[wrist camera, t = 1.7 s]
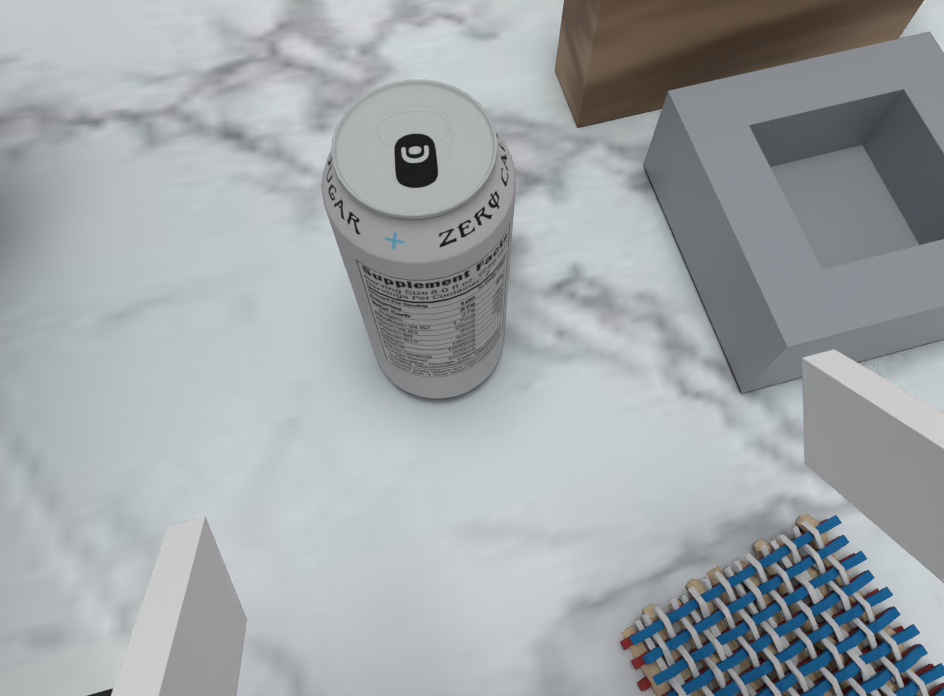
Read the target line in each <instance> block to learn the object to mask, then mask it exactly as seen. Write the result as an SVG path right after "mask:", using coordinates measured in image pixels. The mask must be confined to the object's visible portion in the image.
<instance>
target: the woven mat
mask: <svg viewBox="0 0 944 696" xmlns="http://www.w3.org/2000/svg"><path fill="white" fill-rule="evenodd" d="M796 524H797V525H798V526H799V527H800V528H801V529H802V530H804V532H802V533H800V531H799V528H798V527H797V526H795V527H794V528H793V533H794V536H795V538H794V539H792V540H789V539H788V538H787V537H786V536H785V535H784V534H783V535H780V536H779V538H780V539H779V540H777V541H775V539H774V540H772V541H771V542H770V543H771V544H772V546H773V547H774V549H775V550H773V551H772V546H771V545H770V544H768V543H766V542H764V541H763V540H760V541H758V542H757V543H755V544H754V547H755V553H756V558H757V559H758V560H756V559H755V558H754V557H753V556H752V555H751V554H750V553H748V554H747V555H746V556H745V558H746V559H747V560H748V561H749V562H750V563H751V564H749V565H748V564H746V563H745V562H743V561H740V562H739V560H735V561H734V562H733V563H732V564H733V566H734V568H735V570H736V573H733V572H732V570H731V569H730V567H727V568H725V569H723V570H724V572H725V573H726V575H727V578H726V576H725V575H724V573H723V572H722V570H721V569H720V567H719V566H717V567H716V568H714V569H712V570H711V571H709V572H707V575H708V576H709V578H710V579H711V581H712V582H713V584H714V586H711V583H710V580H709V579H707V578H705V579H704V580H703V581H702V582H703V583H702V582H701V581H700V580H696V579H691V580H690V582H689V583H688V584H687V586H686V587H687V588H688V591H689V592H690V593H691V594H692V595H693V598H690V599H689V600H688V598H687V597H686V595H685V594H684V595H682V596H681V597H680V599H681V601H682V602H683V604H682V603H681V601H680V600H679V599H678V600H677V599H676V598H674V599H671V600H670V602H671V604H670V605H668V606H669V608H670V609H671V611H670V612H669V613H667V614H665V613H664V612H663V611H662V610H661V608H660V607H659V606H658V607H654V606H653V605H651V604H650V605H649V606H647V607H646V608H644V609H643V611H644V614H643V615H642V619H643V621H644V623H645V625H646V626H645V627H644V626H643V624H642V622H641V621H640V619H638V620H637V621H635V623H636V625H637V627H638V629H639V631H637V632H636V630H635V629H634V627H633V625H632V626H631V627H629V628H627V629H626V630H624V631H623V632H621V633H622V635H623V637H624V640H622V641H621V642H620V643H621V645H622V646H623V648H624V650H625V649H627V648H628V647H629V649H630V651H631V653H632V655H633V657H634V658H635V659H633V660H632V661H631V662H632V664H633V666H634V668H635V669H638V668H640V667H641V669H642V670H643V672H644V673H645V675H646V676H645V677H644V678H643V679H642V680H640V681H639V682H638V683H637V684H638V685H639V687H640V689H641V691H644V690H647V689H648V688H649V687H650V686H652V688H653V691H654V693H655V695H656V696H739V695H738V694H737V692H738V691H741V693H742V695H743V696H782V695H781V693H782V694H783V696H867V695H866V694H868V693H871V695H872V696H944V683H941V684H939V685H938V686H936V687H935V688H933V689H932V690H930V691H929V689H928V688H927V687H926V684H928V683H930V682H932V681H934V680H936V679H938V678H940V677H942V676H944V666H943V665H942V663H941V664H938V665H936V666H935V667H934V666H933V664H928V665H926V666H925V667H923V668H921V669H920V670H918V671H915V669H914V668H913V667H912V666H913V665H914V664H915V663H916V662H917V661H918V660H919V659H920V658H921V657H922V656H924V655H926V654H928V653H927V651H926V650H925V648H924V647H923V646H922V645H921V644H916V645H913V646H912V647H910V648H909V649H907V650H905V651H904V647H903V642H905V641H907V640H909V639H911V638H913V637H915V636H916V635H918V634H919V633H920V632H919V631H918V629H917V628H916V627H915V625H914V624H913V625H911V626H909V627H907V628H906V629H904V628H903V627H902V626H899V627H897V628H895V629H891V628H890V627H889V626H888V624H890V623H891V622H892V621H893V620H894V619H896V618H897V617H898V616H900V613H899V612H898V610H897V609H896V608H895V607H894V606H893V607H890V608H887V609H886V610H884V611H883V612H881V613H879V614H878V615H876V614H875V612H874V611H873V609H872V608H871V607H872V606H874V605H876V604H878V603H880V602H882V601H884V600H886V599H887V598H889V597H891V596H892V595H893V594H892V593H891V591H890V590H889V589H888V587H885V588H883V589H882V590H880V591H879V590H878V588H877V589H875V590H874V591H872V592H870V593H869V594H867V595H866V596H863V595H862V594H861V592H860V591H859V589H860V588H862V587H863V586H864V585H866V584H867V583H868V582H870V581H871V580H872V579H874V576H873V575H872V574H871V572H870V571H868V570H867V571H864V572H862V573H861V574H859V575H857V576H856V577H854V578H852V579H851V578H850V576H849V575H848V573H847V572H846V570H848V569H850V568H852V567H854V566H855V565H857V564H859V563H861V562H863V561H864V560H866V559H867V558H866V556H865V555H864V554H863V552H862V551H860V552H858V553H856V554H855V553H853V554H851V555H849V556H848V557H846V558H844V559H842V560H840V561H838V559H837V558H836V556H835V555H834V552H836V551H837V550H839V549H840V548H842V547H843V546H845V545H846V544H848V543H849V541H848V540H847V538H846V537H845V536H844V535H842V536H839V537H837V538H835V539H834V540H832V541H830V542H829V541H828V537H827V533H826V531H828V530H830V529H832V528H833V527H835V526H837V525H839V524H841V521H840V520H839V518H838V517H837V516H836V515H835V516H833V517H831V518H830V519H826V520H824V521H822V522H820V523H818V521H817V520H815V519H814V518H813V517H811V516H810V515H809V514H805V515H800V517H799V519H798V521H797V522H796ZM809 542H810V544H811V547H810V546H809V545H808V544H807V543H809ZM800 547H802V548H803V549H804V550H805V551H806V552H807V553H808V554H809V555H807V556H805V557H804V558H803V557H802V555H801V554H800V553H799V551H798V550H797V549H798V548H800ZM779 560H782V561H783V563H784V564H785V566H786V568H785V569H784V570H783V569H782V568H781V567H780V565H779V564H778V562H777V561H779ZM815 563H816V565H817V568H818V570H817V569H816V568H815V567H813V566H812V565H813V564H815ZM823 564H824V565H825V567H826V569H825V567H824V565H823ZM763 569H765V571H766V572H767V574H768V575H769V578H767V577H766V575H765V572H764V570H763ZM757 573H758V574H757ZM792 577H794V578H795V579H796V580H797V581H798V582H799V583H800V584H799V585H798V586H796V587H795V588H794V586H793V585H792V583H791V582H790V580H789V579H790V578H792ZM832 580H835V581H836V583H837V584H838V586H839V587H838V586H837V585H836V584H835V583H834V582H833V581H832ZM741 582H743V583H744V584H745V585H746V586H747V587H748V588H749V589H748V590H747V591H746V592H745V590H744V589H743V587H742V586H741V584H740V583H741ZM733 587H734V588H735V589H736V591H737V592H738V594H739V595H740V596H738V595H737V594H736V592H735V591H734V589H733ZM829 587H831V588H832V589H833V591H831V592H830V590H829ZM776 588H777V589H778V591H779V592H780V594H781V595H782V596H780V595H779V594H778V593H777V592H776V591H775V590H774V589H776ZM808 594H809V596H810V598H811V600H812V602H813V603H811V604H810V605H808V606H807V605H806V604H805V603H804V602H803V600H802V599H803V598H804V597H806V596H807V595H808ZM720 595H721V597H722V598H723V600H724V602H725V603H726V604H724V603H723V602H722V601H721V600H720V599H719V598H718V596H720ZM773 598H774V600H773ZM755 599H756V604H757V606H758V608H759V610H757V609H756V607H755V606H754V604H753V603H752V601H754V600H755ZM839 600H841V602H842V604H843V607H844V609H843V610H841V611H839V609H838V608H837V606H836V605H835V604H836V603H837V602H838V601H839ZM850 603H851V605H850ZM717 606H718V608H717ZM746 606H747V608H748V610H749V611H750V613H751V614H749V613H748V611H747V609H746V608H745V607H746ZM787 606H789V607H790V609H791V610H792V612H793V613H794V614H793V615H792V616H791V614H790V611H789V609H788V607H787ZM697 607H699V609H700V612H701V614H702V616H703V618H702V619H701V618H700V616H699V615H698V613H697V612H696V610H695V609H696V608H697ZM780 610H782V611H783V614H784V617H785V619H784V618H783V616H782V615H781V613H780V612H779V611H780ZM689 613H690V614H691V616H692V617H693V619H694V620H695V623H694V622H693V621H692V619H691V618H690V616H689ZM731 614H733V616H734V617H735V619H736V620H737V623H736V624H734V621H733V619H732V616H731ZM818 614H821V615H822V616H823V617H824V618H825V619H826V620H825V621H823V622H822V623H820V624H818V623H817V621H816V620H815V618H814V616H816V615H818ZM859 616H860V618H861V619H862V621H863V622H864V623H863V622H862V621H861V620H860V619H859V618H858V617H859ZM723 618H726V620H727V623H728V626H729V628H728V627H727V625H726V624H725V622H724V620H723ZM765 620H766V621H767V622H766V621H765ZM851 620H852V621H853V622H854V623H855V624H856V625H857V626H858V627H856V628H854V629H853V630H852V628H851V627H850V625H849V624H848V622H849V621H851ZM675 621H677V622H678V623H679V625H680V627H681V629H682V631H680V632H678V633H677V634H676V633H675V631H674V629H673V627H672V625H671V623H673V622H675ZM758 624H759V625H760V626H761V627H762V628H763V629H764V630H765V632H764V633H761V631H760V630H759V628H758V627H757V625H758ZM800 626H802V627H803V629H804V630H805V632H806V633H803V632H802V630H801V629H800V628H799V627H800ZM708 628H710V630H711V631H712V633H713V634H714V635H713V634H712V633H711V631H710V630H709V629H708ZM792 631H793V632H794V633H795V634H796V635H797V636H798V638H796V636H795V635H794V633H793V632H792ZM833 631H834V632H835V634H836V637H837V638H834V639H833V638H832V637H831V636H830V634H831V633H832V632H833ZM700 632H703V633H704V634H705V635H706V637H707V638H708V639H709V640H708V641H706V642H705V640H704V639H703V637H702V635H701V634H700ZM743 634H745V635H746V636H747V638H748V639H749V642H746V641H745V639H744V638H743V637H742V636H741V635H743ZM651 636H653V638H654V639H655V640H656V642H657V643H658V645H657V646H655V645H654V643H653V641H652V640H651V638H650V637H651ZM874 636H875V637H876V639H875V637H874ZM866 637H867V639H868V642H869V646H868V647H866V648H865V647H864V646H863V644H862V643H861V641H862V640H863V639H865V638H866ZM735 638H736V639H737V640H738V642H739V643H740V644H741V645H742V646H741V647H740V646H739V645H738V643H737V641H736V640H735ZM643 640H645V642H646V643H647V645H648V647H649V649H650V650H647V648H646V647H645V645H644V644H643V642H642V641H643ZM687 640H688V641H689V643H690V645H691V647H692V648H693V650H691V651H689V652H687V650H686V649H685V648H684V646H683V645H682V644H683V643H684V642H686V641H687ZM772 642H774V644H775V646H776V647H775V646H774V645H773V644H772ZM813 643H814V644H815V645H816V646H817V647H818V648H819V649H817V650H816V651H815V649H814V647H813ZM806 647H807V650H808V653H809V655H810V656H808V655H807V653H806V652H805V650H804V649H805V648H806ZM715 651H716V652H717V654H718V656H719V657H718V656H717V655H716V653H715ZM724 652H725V653H726V655H725V653H724ZM844 652H846V653H847V654H848V655H849V656H850V657H851V658H850V659H848V660H847V661H845V660H844V657H843V654H842V653H844ZM756 653H758V654H759V655H760V656H761V658H759V659H758V658H757V655H756ZM663 655H664V656H665V658H666V661H667V663H668V664H667V665H666V664H665V662H664V660H663V659H662V657H661V656H663ZM885 655H886V656H887V658H888V659H889V660H890V661H889V660H888V659H887V658H886V657H885ZM747 657H750V659H751V662H752V665H751V664H750V662H749V661H748V659H747ZM877 659H878V660H879V661H880V662H881V663H882V664H883V665H882V666H880V667H879V668H878V667H877V665H876V664H875V662H874V661H875V660H877ZM697 661H700V662H701V663H702V665H703V666H704V667H703V668H701V669H700V670H699V671H698V669H697V667H696V665H695V662H697ZM784 662H785V663H784ZM785 664H786V665H787V666H788V668H789V670H787V668H786V665H785ZM826 665H827V666H828V667H829V669H830V670H831V671H830V672H829V671H828V670H827V669H826V668H825V667H824V666H826ZM732 667H733V668H734V670H733V668H732ZM818 670H819V671H820V672H821V673H822V674H823V675H824V676H821V675H820V673H819V672H818ZM727 671H728V673H729V674H730V676H731V677H732V678H731V679H729V676H728V673H727ZM859 671H860V672H861V675H862V678H861V679H859V680H858V681H856V680H855V678H854V676H855V675H856V674H857V673H858V672H859ZM768 673H769V674H770V676H771V677H772V679H773V680H770V679H769V678H768V677H767V676H766V674H768ZM892 676H894V679H895V683H894V682H893V681H892V680H891V679H890V678H891V677H892ZM674 677H675V678H674ZM901 677H902V679H901ZM760 678H761V679H762V680H763V681H764V682H765V683H766V684H765V685H763V683H762V682H761V680H760ZM711 680H712V683H713V685H714V687H715V689H714V690H712V691H710V689H709V688H708V687H707V684H708V683H709V682H710V681H711ZM797 681H798V682H799V684H800V686H801V688H802V689H801V690H798V689H797V687H796V686H795V683H796V682H797ZM668 682H669V683H670V684H671V686H672V687H673V688H672V689H671V688H670V685H669V683H668ZM838 683H840V685H841V686H842V688H843V689H840V686H839V684H838ZM832 687H833V688H832ZM748 692H749V693H750V694H749V693H748Z"/></svg>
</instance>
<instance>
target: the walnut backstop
mask: <svg viewBox="0 0 944 696" xmlns="http://www.w3.org/2000/svg"><path fill="white" fill-rule="evenodd" d="M923 1H924V0H564V5H563V13H562V20H561V28H560V36H559V44H558V52H557V59H556V67H555V72H556V75H557V77H558V80H559V83H560V85H561V88H562V90H563V93H564V95H565V98H566V100H567V103H568V105H569V108H570V110H571V113H572V115H573V118H574V120H575V123H576V125H577V128H578V127H583V126H587V125H591V124H596V123H600V122H604V121H609V120H613V119H618V118H622V117H626V116H631V115H635V114H640V113H644V112H648V111H653V110H657V109H661V108H663V105H664V102H665V99H666V96H667V93H668V91H669V90H674V89H678V88H683V87H687V86H691V85H696V84H700V83H705V82H709V81H714V80H718V79H722V78H727V77H731V76H736V75H740V74H745V73H749V72H753V71H758V70H762V69H767V68H771V67H776V66H780V65H784V64H789V63H793V62H798V61H802V60H807V59H811V58H815V57H820V56H824V55H829V54H833V53H838V52H842V51H846V50H851V49H855V48H860V47H864V46H869V45H873V44H877V43H882V42H886V41H891V40H895V39H898V38H899V37H900V35H901V34H902V32H903V31H904V29H905V28H906V26H907V25H908V23H909V22H910V20H911V19H912V17H913V16H914V14H915V13H916V11H917V10H918V8H919V7H920V5H921V4H922V2H923Z"/></svg>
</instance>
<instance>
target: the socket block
mask: <svg viewBox="0 0 944 696" xmlns="http://www.w3.org/2000/svg"><path fill="white" fill-rule="evenodd" d="M644 167H645V169H646V171H647V174H648V176H649V178H650V180H651V183H652V185H653V187H654V190H655V192H656V194H657V197H658V199H659V201H660V204H661V206H662V208H663V211H664V213H665V215H666V218H667V220H668V222H669V225H670V227H671V229H672V232H673V234H674V236H675V239H676V241H677V243H678V246H679V248H680V250H681V253H682V255H683V257H684V259H685V262H686V264H687V266H688V269H689V271H690V273H691V276H692V278H693V280H694V283H695V285H696V287H697V290H698V292H699V294H700V297H701V299H702V301H703V304H704V306H705V308H706V311H707V313H708V315H709V318H710V320H711V322H712V325H713V327H714V329H715V332H716V334H717V336H718V339H719V341H720V343H721V345H722V348H723V350H724V352H725V355H726V357H727V359H728V362H729V364H730V366H731V369H732V371H733V373H734V376H735V378H736V380H737V383H738V385H739V387H740V390H741V392H742V393H745V392H749V391H752V390H756V389H760V388H763V387H767V386H771V385H775V384H778V383H782V382H786V381H790V380H793V379H797V378H801V377H803V375H802V358H803V357H807V356H811V355H815V354H818V353H822V352H826V351H830V350H834V349H835V350H836V351H838V352H840V353H841V354H843V355H845V356H847V357H848V358H850V359H852V360H853V361H855V362H861V361H864V360H868V359H872V358H876V357H879V356H883V355H887V354H891V353H894V352H898V351H902V350H905V349H909V348H913V347H917V346H920V345H924V344H928V343H932V342H935V341H939V340H943V339H944V53H943V51H942V50H941V48H940V47H939V45H938V43H937V42H936V40H935V39H934V37H933V36H932V34H931V33H930V32H926V33H922V34H917V35H913V36H908V37H904V38H899V39H895V40H891V41H886V42H882V43H877V44H873V45H869V46H864V47H860V48H855V49H851V50H846V51H842V52H838V53H833V54H829V55H824V56H820V57H815V58H811V59H807V60H802V61H798V62H793V63H789V64H784V65H780V66H776V67H771V68H767V69H762V70H758V71H753V72H749V73H745V74H740V75H736V76H731V77H727V78H722V79H718V80H714V81H709V82H705V83H700V84H696V85H691V86H687V87H683V88H678V89H674V90H669V91H668V93H667V96H666V99H665V102H664V105H663V108H662V111H661V114H660V117H659V120H658V123H657V126H656V129H655V132H654V135H653V138H652V141H651V144H650V147H649V150H648V153H647V156H646V159H645V162H644Z"/></svg>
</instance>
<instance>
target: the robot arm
mask: <svg viewBox="0 0 944 696" xmlns="http://www.w3.org/2000/svg"><path fill="white" fill-rule="evenodd" d="M802 375H803V416H804V457H805V464H806V465H807V466H808V467H809V468H810V469H811V470H813V471H814V472H815V473H816V474H817V475H818V476H820V477H821V478H822V479H823V480H824V481H825V482H827V483H828V484H829V485H830V486H831V487H832V488H834V489H835V490H836V491H837V492H838V493H839V494H841V495H842V496H843V497H844V498H845V499H846V500H848V501H849V502H850V503H851V504H852V505H853V506H855V507H856V508H857V509H858V510H859V511H860V512H862V513H863V514H864V515H865V516H866V517H867V518H869V519H870V520H871V521H872V522H873V523H874V524H876V525H877V526H878V527H879V528H880V529H881V530H882V531H884V532H885V533H886V534H887V535H888V536H889V537H891V538H892V539H893V540H894V541H895V542H896V543H898V544H899V545H900V546H901V547H902V548H903V549H905V550H906V551H907V552H908V553H909V554H910V555H912V556H913V557H914V558H915V559H916V560H917V561H919V562H920V563H921V564H922V565H923V566H924V567H926V568H927V569H928V570H929V571H930V572H931V573H933V574H934V575H935V576H936V577H937V578H938V579H940V580H941V581H942V582H943V583H944V413H942V412H941V411H939V410H937V409H936V408H934V407H932V406H930V405H929V404H927V403H925V402H924V401H922V400H920V399H919V398H917V397H915V396H913V395H912V394H910V393H908V392H907V391H905V390H903V389H901V388H900V387H898V386H896V385H895V384H893V383H891V382H889V381H888V380H886V379H884V378H883V377H881V376H879V375H877V374H876V373H874V372H872V371H871V370H869V369H867V368H865V367H864V366H862V365H860V364H859V363H857V362H855V361H853V360H852V359H850V358H848V357H847V356H845V355H843V354H841V353H840V352H838V351H836V350H835V349H834V350H830V351H826V352H822V353H818V354H815V355H811V356H807V357H803V358H802ZM246 622H247V618H246V616H245V613H244V611H243V609H242V606H241V604H240V601H239V599H238V596H237V594H236V591H235V589H234V586H233V584H232V581H231V579H230V576H229V574H228V571H227V569H226V566H225V564H224V561H223V559H222V556H221V554H220V552H219V549H218V547H217V544H216V542H215V539H214V537H213V534H212V532H211V529H210V527H209V524H208V522H207V519H206V517H205V516H204V517H201V518H197V519H193V520H189V521H185V522H182V523H178V524H174V525H170V526H167V529H166V532H165V535H164V538H163V541H162V544H161V547H160V550H159V553H158V556H157V559H156V562H155V565H154V568H153V571H152V574H151V577H150V580H149V583H148V586H147V589H146V592H145V595H144V598H143V601H142V604H141V607H140V610H139V613H138V616H137V619H136V622H135V625H134V628H133V631H132V634H131V637H130V640H129V643H128V646H127V649H126V652H125V655H124V658H123V661H122V664H121V667H120V670H119V673H118V676H117V679H116V682H115V685H114V688H113V689H109V690H105V691H102V692H98V693H95V694H91V695H88V696H236V694H237V687H238V679H239V672H240V665H241V658H242V651H243V644H244V636H245V629H246Z"/></svg>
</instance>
